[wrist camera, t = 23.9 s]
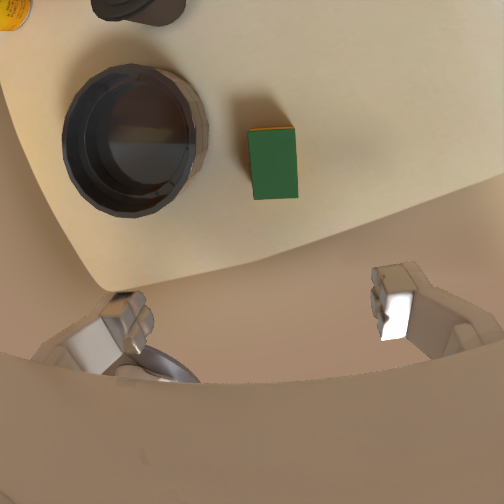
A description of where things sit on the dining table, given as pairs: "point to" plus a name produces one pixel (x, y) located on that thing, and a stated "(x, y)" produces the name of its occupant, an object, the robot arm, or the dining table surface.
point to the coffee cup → (139, 10)
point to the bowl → (134, 139)
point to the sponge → (273, 162)
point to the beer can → (13, 13)
